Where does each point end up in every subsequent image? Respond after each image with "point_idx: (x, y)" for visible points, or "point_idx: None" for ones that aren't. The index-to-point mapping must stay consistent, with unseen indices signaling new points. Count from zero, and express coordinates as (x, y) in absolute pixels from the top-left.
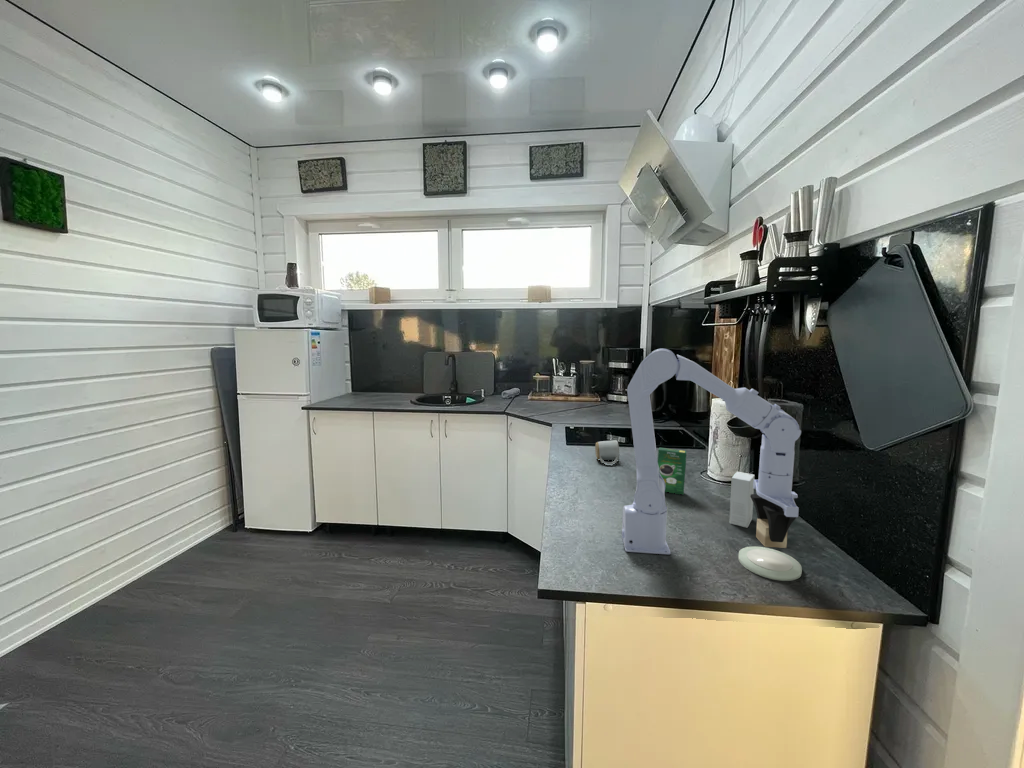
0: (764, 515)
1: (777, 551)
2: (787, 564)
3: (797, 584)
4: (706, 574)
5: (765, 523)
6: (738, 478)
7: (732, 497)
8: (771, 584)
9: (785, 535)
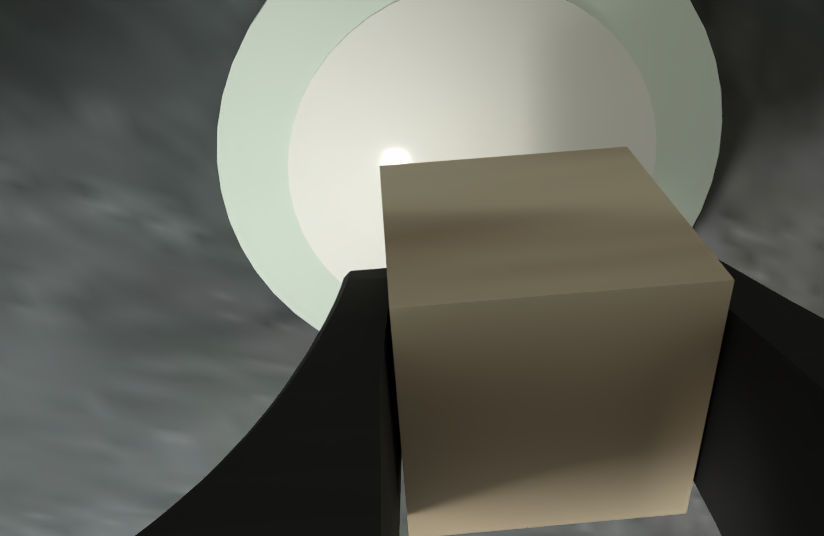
0: (392, 510)
1: (271, 31)
2: (550, 45)
3: (752, 32)
4: (629, 526)
5: (555, 488)
6: None
7: None
8: (742, 225)
9: (748, 277)
